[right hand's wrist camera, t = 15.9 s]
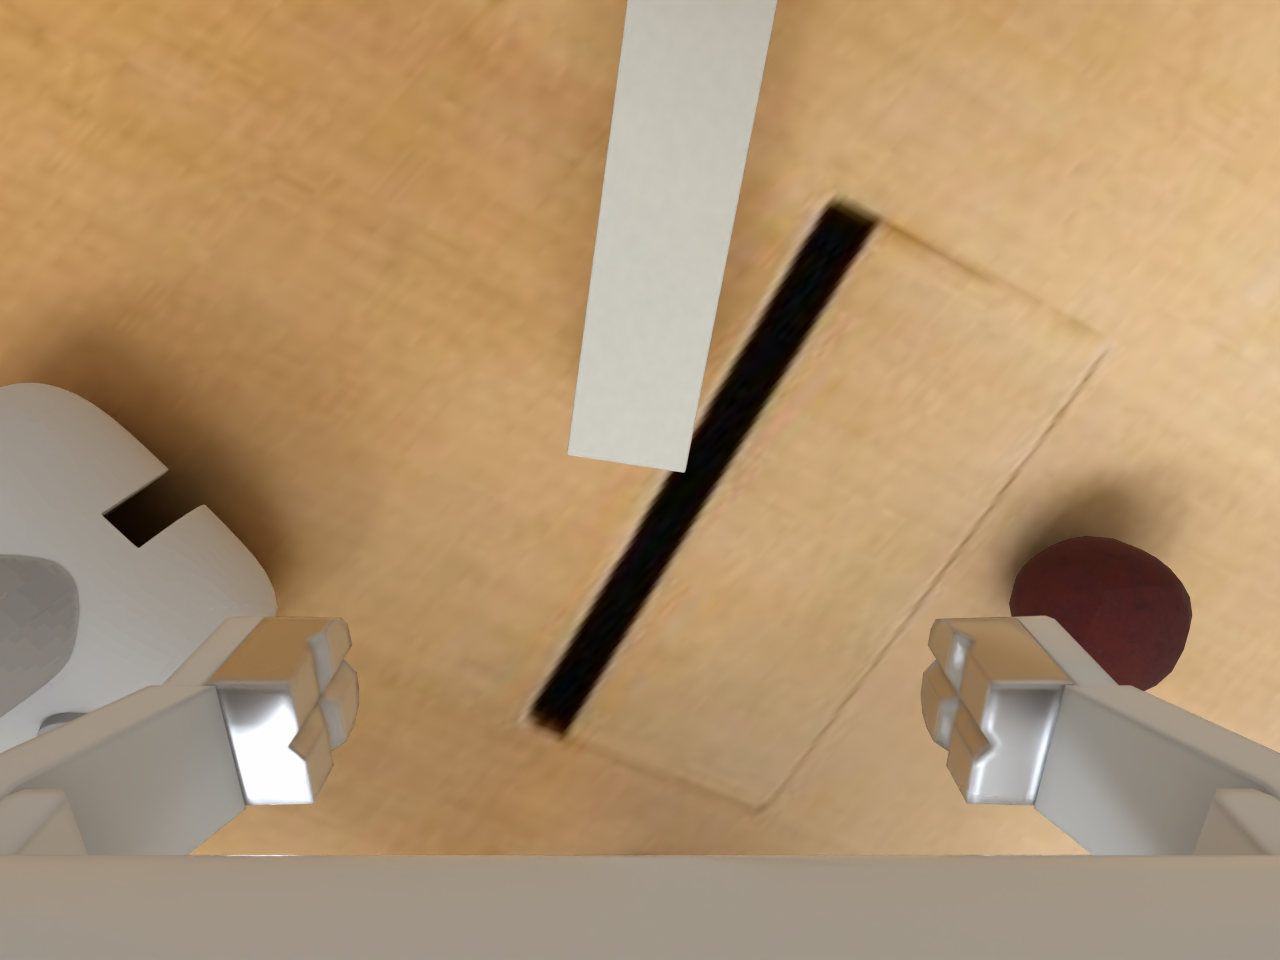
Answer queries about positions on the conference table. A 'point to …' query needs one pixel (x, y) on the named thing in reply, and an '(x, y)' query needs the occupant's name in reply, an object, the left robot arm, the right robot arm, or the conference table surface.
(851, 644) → the conference table surface
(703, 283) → the bar
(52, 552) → the white rounded device
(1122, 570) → the potato
